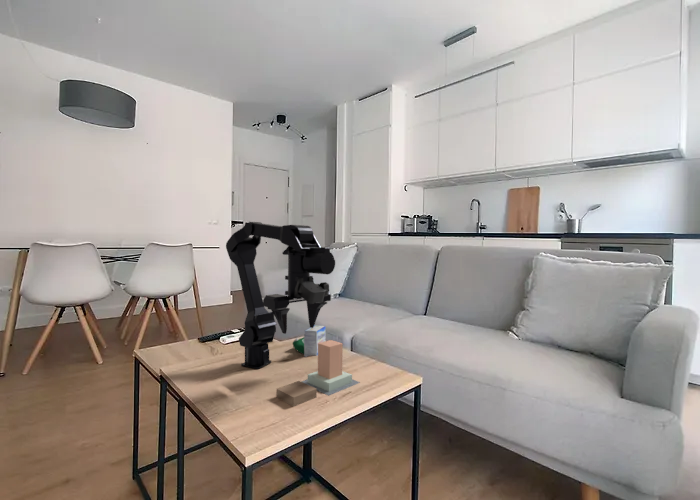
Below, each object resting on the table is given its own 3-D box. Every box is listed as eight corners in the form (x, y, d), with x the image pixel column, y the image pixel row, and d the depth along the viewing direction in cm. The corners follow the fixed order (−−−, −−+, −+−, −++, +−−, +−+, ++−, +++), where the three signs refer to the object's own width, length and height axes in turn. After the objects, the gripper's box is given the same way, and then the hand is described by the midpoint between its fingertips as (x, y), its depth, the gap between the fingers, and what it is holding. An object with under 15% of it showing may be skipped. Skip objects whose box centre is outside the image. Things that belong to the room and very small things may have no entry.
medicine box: (316, 358, 112) (317, 331, 112) (303, 357, 113) (303, 330, 113) (325, 351, 120) (325, 325, 119) (313, 350, 121) (313, 324, 121)
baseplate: (299, 386, 91) (299, 382, 91) (330, 374, 99) (330, 371, 99) (328, 399, 83) (328, 395, 83) (360, 386, 91) (360, 382, 91)
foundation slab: (307, 382, 91) (307, 374, 91) (330, 374, 97) (330, 366, 97) (329, 391, 85) (329, 383, 85) (352, 382, 91) (352, 374, 91)
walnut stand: (276, 401, 82) (276, 388, 82) (298, 393, 87) (298, 380, 87) (293, 411, 77) (293, 397, 77) (316, 401, 82) (316, 388, 82)
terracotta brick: (317, 374, 91) (318, 343, 91) (330, 370, 94) (330, 340, 94) (329, 379, 88) (329, 347, 88) (342, 374, 91) (342, 343, 91)
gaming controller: (315, 351, 125) (305, 338, 127) (321, 345, 124) (311, 331, 126) (298, 359, 118) (288, 344, 120) (304, 352, 116) (294, 337, 118)
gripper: (288, 276, 83) (288, 343, 83) (345, 272, 96) (344, 329, 97) (262, 273, 91) (261, 334, 91) (317, 269, 104) (317, 323, 104)
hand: (298, 330), depth 96 cm, fingers open, 9 cm apart
